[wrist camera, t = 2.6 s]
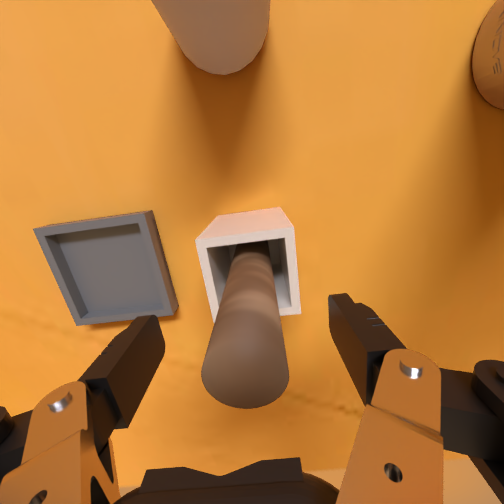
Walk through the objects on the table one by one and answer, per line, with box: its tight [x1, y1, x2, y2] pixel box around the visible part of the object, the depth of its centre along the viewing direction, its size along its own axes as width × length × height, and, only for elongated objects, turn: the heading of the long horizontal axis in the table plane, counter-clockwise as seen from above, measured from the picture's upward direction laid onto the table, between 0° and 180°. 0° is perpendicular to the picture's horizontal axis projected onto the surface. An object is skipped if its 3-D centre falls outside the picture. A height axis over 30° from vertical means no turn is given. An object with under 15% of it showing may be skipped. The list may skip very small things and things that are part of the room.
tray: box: [33, 210, 179, 326], centre depth 24 cm, size 11×11×2 cm
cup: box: [195, 207, 301, 323], centre depth 20 cm, size 6×6×9 cm
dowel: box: [201, 240, 289, 409], centre depth 15 cm, size 3×3×16 cm
